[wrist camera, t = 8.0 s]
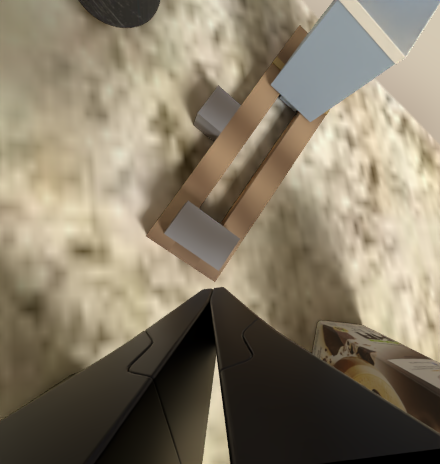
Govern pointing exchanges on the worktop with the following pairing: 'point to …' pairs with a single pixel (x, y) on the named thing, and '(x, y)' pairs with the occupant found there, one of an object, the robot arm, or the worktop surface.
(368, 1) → the block
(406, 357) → the coffee box
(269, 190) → the beam
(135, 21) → the travel mug
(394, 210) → the worktop surface
